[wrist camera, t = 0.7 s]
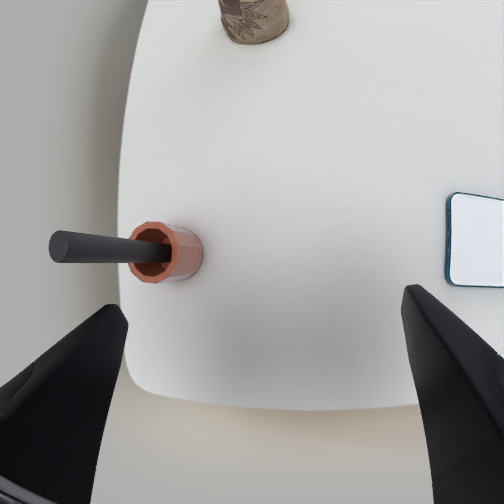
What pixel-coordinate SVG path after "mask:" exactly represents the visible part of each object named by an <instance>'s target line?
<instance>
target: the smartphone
mask: <svg viewBox="0 0 504 504" xmlns="http://www.w3.org/2000/svg"><path fill="white" fill-rule="evenodd" d="M445 275H446V279H447V281H448V283H449V284H451V285H454V286H462V287H493V288H504V200H503V199H498V198H492V197H486V196H480V195H474V194H468V193H461V192H456V193H454V194H452V195H450V196H449V198H448V199H447V252H446V271H445Z"/></svg>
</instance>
